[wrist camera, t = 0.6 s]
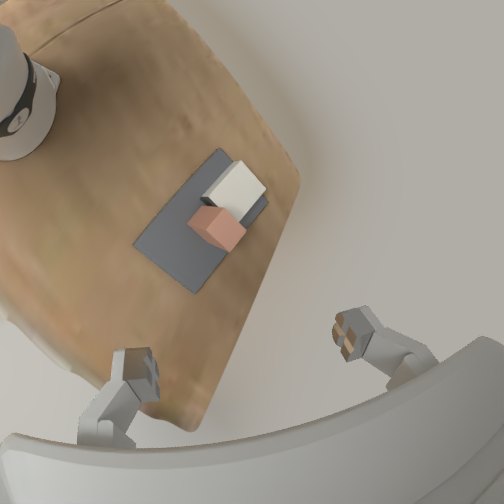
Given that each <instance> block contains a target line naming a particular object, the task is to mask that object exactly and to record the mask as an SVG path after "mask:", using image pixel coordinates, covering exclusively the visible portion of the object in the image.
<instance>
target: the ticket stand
mask: <svg viewBox="0 0 504 504" xmlns="http://www.w3.org/2000/svg"><path fill="white" fill-rule="evenodd" d="M265 190H266V188H265V187H264V186H263V185H262V184H261V182H260V181H259V180H258V179H257V178H256V177H255V175H254V174H253V173H252V172H251V171H250V170H249V169H248V167H247V166H246V165H245V164H244V163H243V162H242V161H241V160H240V161H235V162H233V161H232V160H231V159H230V158H229V157H228V156H227V155H226V154H225V152H224V151H223V150H222V149H221V148H218V149H216V150H215V151H214V152H213V153H212V154H211V156H210V157H209V158H208V159H207V160H206V161H205V162H204V163H203V164H202V165H201V166H200V167H199V168H198V169H197V170H196V171H195V172H194V173H193V174H192V175H191V176H190V178H189V179H188V180H187V181H186V182H185V183H184V184H183V185H182V186H181V187H180V189H179V190H178V191H177V192H176V193H175V194H174V195H173V196H172V198H171V199H170V200H169V201H168V202H167V203H166V204H165V206H164V207H163V208H162V209H161V210H160V211H159V213H158V214H157V215H156V216H155V217H154V219H153V220H152V221H151V222H150V223H149V225H148V226H147V227H146V228H145V229H144V231H143V232H142V233H141V234H140V236H139V237H138V238H137V239H136V241H135V242H134V243H133V246H134V247H135V248H136V249H138V250H139V251H140V252H141V253H142V254H144V255H145V256H146V257H147V258H149V259H150V260H151V261H152V262H153V263H155V264H156V265H157V266H158V267H160V268H161V269H162V270H164V271H165V272H166V273H167V274H169V275H170V276H171V277H172V278H174V279H175V280H176V281H178V282H179V283H180V284H182V285H183V286H184V287H186V288H187V289H188V290H190V291H191V292H192V293H194V294H196V292H197V291H198V290H199V288H200V287H201V286H202V285H203V283H204V282H205V281H206V279H207V278H208V277H209V276H210V274H211V273H212V272H213V271H214V269H215V268H216V267H217V266H218V264H219V263H220V262H221V260H222V259H223V258H224V257H225V255H226V254H227V253H228V251H226V250H223V249H221V248H219V247H216V246H214V245H212V244H210V243H207V242H206V241H205V240H204V239H203V238H202V237H201V236H200V235H198V234H197V233H196V232H195V231H194V230H193V229H192V228H191V227H190V226H189V225H187V222H188V221H189V220H190V219H191V218H192V217H193V215H194V214H195V213H196V212H197V211H198V210H199V208H200V207H201V206H213V207H222V208H225V209H226V210H227V211H228V212H229V213H230V214H231V215H232V216H233V217H234V218H235V219H236V220H237V221H238V222H239V223H240V224H241V225H242V226H243V227H244V228H245V229H247V228H248V227H249V226H250V224H251V223H252V222H253V221H254V219H255V218H256V217H257V216H258V214H259V213H260V212H261V211H262V209H263V208H264V207H265V206H266V205H267V203H268V201H267V200H266V199H265V197H264V196H263V195H262V194H263V192H264V191H265Z"/></svg>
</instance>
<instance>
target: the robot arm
mask: <svg viewBox="0 0 504 504" xmlns="http://www.w3.org/2000/svg"><path fill="white" fill-rule="evenodd" d="M6 1H7V0H0V6H1V5H2V4H3V3H5V2H6ZM50 77H51V78H50ZM59 84H60V77H59V75H58V74H56V73H55V72H53V71H51V70H49V69H47V68H46V67H44V66H42V65H40V64H38V63H36V62H34V61H33V60H31V59H29V57H28V56H27V55H26V54H25V53H24V52H23V51H22V49H21V47H20V45H19V42H18V40H17V37H16V35H15V33H14V31H13V30H12V29H11V28H9V27H8V26H6V25H2V24H0V160H8V161H9V160H16V159H19V158H22V157H24V156H26V155H27V154H29V153H30V152H32V151H33V150H34V149H35V148H36V147H37V146H38V145H39V144H40V143H41V142H42V141H43V139H44V138H45V137H46V135H47V133H48V132H49V130H50V128H51V126H52V123H53V120H54V117H55V112H56V92H57V89H58V87H59ZM335 320H336V321H337V322H336V323H335V324H334V326H333V329H332V335H333V339H334V341H335V343H336V345H338V346H340V347H341V353H342V355H343V357H344V359H345V360H346V362H349V361H353V360H356V359H359V358H362V359H364V360H365V361H367V362H368V363H370V364H372V365H373V366H374V367H376V368H377V369H379V370H380V371H382V372H383V373H385V374H387V375H388V376H390V377H391V379H390V380H389V382H388V383H387V385H386V388H387V390H388V391H387V392H385V393H383V394H381V395H379V396H377V397H374V398H372V399H370V400H368V401H365V402H363V403H361V404H358V405H356V406H353V407H351V408H348V409H345V410H343V411H340V412H337V413H334V414H332V415H329V416H326V417H323V418H320V419H317V420H314V421H311V422H307V423H304V424H301V425H298V426H294V427H290V428H287V429H283V430H279V431H275V432H271V433H267V434H262V435H258V436H253V437H248V438H243V439H237V440H232V441H225V442H219V443H212V444H204V445H195V446H184V447H171V448H144V449H143V448H141V449H140V448H136V443H135V442H134V441H133V440H132V439H130V438H129V437H128V436H127V435H126V434H125V433H126V431H127V429H128V427H129V426H130V423H131V422H132V420H133V418H134V417H135V415H136V413H137V411H138V409H139V408H140V406H141V404H142V403H141V402H152V401H160V388H159V386H158V384H157V381H158V380H159V370H158V365H157V362H156V360H155V358H153V357H152V351H151V349H150V347H142V348H126V349H115V351H114V355H113V363H112V371H111V381H107V383H106V384H105V385H104V386H103V388H102V389H101V390H100V391H99V393H98V394H97V395H96V397H95V398H94V399H93V400H92V402H91V403H90V404H89V406H88V407H87V408H86V409H85V411H84V412H83V413H82V415H81V416H80V417H79V423H78V435H77V445H76V444H68V443H62V442H56V441H50V440H45V439H39V438H35V437H30V436H27V435H23V434H19V433H12V434H10V435H9V436H8V437H7V438H6V439H5V440H4V441H3V442H2V443H1V444H0V504H504V346H503V345H502V344H501V343H499V342H497V341H495V340H493V339H490V338H488V337H485V336H480V337H478V338H477V339H475V340H474V341H472V342H471V343H470V344H468V345H467V346H465V347H464V348H462V349H461V350H459V351H458V352H456V353H455V354H453V355H452V356H450V357H449V358H447V359H446V360H444V361H443V362H441V363H439V362H438V360H437V359H436V358H435V356H434V355H433V354H432V352H431V351H430V350H429V349H428V347H427V346H426V345H424V344H422V343H420V342H418V341H416V340H413V339H411V338H409V337H407V336H405V335H403V334H401V333H398V332H396V331H394V330H392V329H390V328H388V327H387V328H385V327H384V326H383V325H382V324H381V322H380V321H379V320H378V318H377V317H376V316H375V314H374V313H373V312H372V311H371V309H370V308H369V307H368V306H366V305H365V306H361V307H358V308H354V309H350V310H347V311H343V312H340V313H338V314H337V315H336V318H335Z"/></svg>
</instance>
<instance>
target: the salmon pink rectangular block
mask: <svg viewBox="0 0 504 504" xmlns="http://www.w3.org/2000/svg"><path fill="white" fill-rule="evenodd" d="M187 225H189V226H190V227H191V228H192V229H193V230H194V231H195V232H196V233H197V234H198V235H200V236H201V237H202V238H203V239H204V240H205V241H206V242H207V243H210V244H212V245H214V246H216V247H219V248H221V249H223V250H226V251H228V252H231V251H232V249H233V248H234V247H235V246H236V244H237V243H238V242H239V241H240V239H241V238H242V237H243V236H244V234H245V233H246V232H247V230H246V229H245V228H244V227H243V226H242V225H241V224H240V223H239V222H238V221H237V220H236V219H235V218H234V217H233V216H232V215H231V214H230V213H229V212H228V211H227V210H226V209H225V208H222V207H213V206H201V207H200V208H199V210H198V211H197V212H196V213H195V214H194V215H193V217H192V218H191V219H190V220H189V221H188V222H187Z"/></svg>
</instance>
